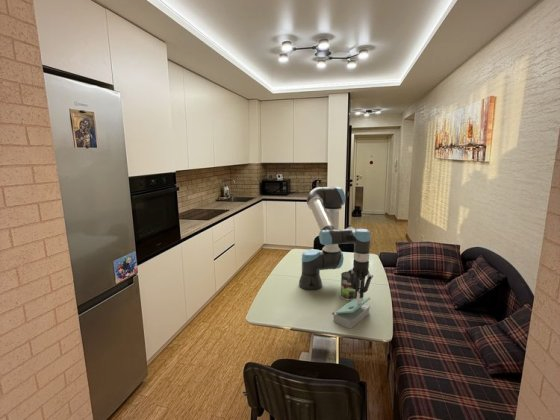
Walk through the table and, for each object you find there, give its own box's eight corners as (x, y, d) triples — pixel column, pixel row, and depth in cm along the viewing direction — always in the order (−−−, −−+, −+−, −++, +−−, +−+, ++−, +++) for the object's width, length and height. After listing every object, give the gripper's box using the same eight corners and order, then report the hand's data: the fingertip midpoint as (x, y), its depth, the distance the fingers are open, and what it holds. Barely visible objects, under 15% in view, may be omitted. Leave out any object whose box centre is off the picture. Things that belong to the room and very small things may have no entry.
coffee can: (351, 302, 177) (352, 279, 175) (337, 296, 184) (337, 274, 182) (361, 296, 184) (362, 274, 182) (346, 291, 191) (347, 270, 189)
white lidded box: (332, 321, 157) (332, 312, 156) (352, 306, 173) (352, 298, 172) (350, 329, 150) (350, 320, 149) (369, 312, 166) (370, 304, 165)
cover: (335, 313, 156) (335, 311, 157) (353, 300, 170) (353, 298, 170) (353, 312, 149) (352, 310, 149) (370, 298, 163) (369, 296, 163)
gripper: (346, 258, 154) (344, 301, 158) (369, 265, 145) (367, 310, 150) (353, 255, 159) (351, 296, 164) (376, 260, 151) (374, 304, 155)
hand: (359, 303), depth 157 cm, fingers closed
